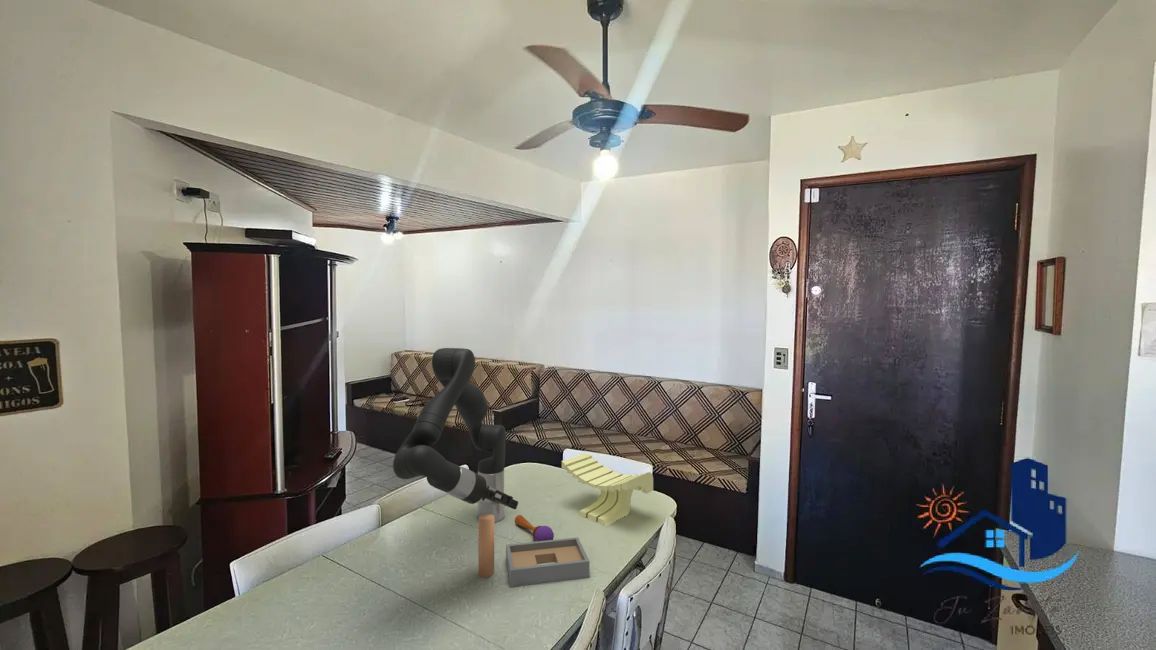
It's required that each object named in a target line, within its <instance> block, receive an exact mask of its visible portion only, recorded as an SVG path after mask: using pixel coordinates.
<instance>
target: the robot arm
mask: <svg viewBox="0 0 1156 650" xmlns="http://www.w3.org/2000/svg"><path fill="white" fill-rule="evenodd" d="M431 366H432V370H433V373H434V375H435V378H436V379H437V380H438V381H439V383H440V384H441V385H442V387H443V388H442V389H441V390H440V391H439V392H438V393H436V394H435V395H434V396H433V397H431V398H430V399H429V400H428V401H427V402H426V403H425V405H424V406H423V407H422V409H421V410H420V411H419V412H420V413H419V415H418V416H417V418H416V421H415V423H414V425H413V429H412V430H411V432H410V433H409V434H408V435H407V437H405V438H404V439H405V440H404V441H403V442H402V443H401V445H400V446H399V447H398V450H397V451H396V453H395V456H394V457H393V458H394V459H393V462H392V469H393V472H394V475H395V476H396V477H398V478H399V479H402V480H409V479H414V478H417V477H420V476H422V477H426V481H427V483H428V484H429V485H430V486H431V487H432V488H435V489H437V490H439V491H442V492H444V493H446V494H448V495H449V496H452V497H453V498H455V499H459V500H461V501H462V502H465V503H468V504H470V505H474V504H477V520H478V521H479V516H481V515H484V514H492V515H494V523H497V522H500V521H502V520H504V517H505V507H507V508H510V509H513V510H517V507H518V505H519V501H518V500H516V499H514V497H513V496H512V495H509V494H507V493H505V462H506V442H507V432H506V428H505V426H504V425H502V424H489V423H487V424H486V423H483V421H484V419H486V416H487V414H488V412H489V411H488V410H489V406H488V402H487V399H486V397H485V395H484V393H483V392H482V390H481V389H480V388H479V387H478V386H476V385H475V384H474V383H472V382H470V379H471V378H472V376H473V374H474V371H475V366H476V357H475V355H474V352H473V351H472V350H471V349H468V348H463V347H462V348H460V347H456V348H455V347H442V348H438V349H437V350H435V351H434V352H433V354H432V358H431ZM454 406H455V408H456V410H457V412H458V414H459V415H460V417H461V418H462V420H463V423H465V426H466V428H467V431H468V433H469V437H470V438H471V442H472V444H473V446H474V448H475V449H476V450H478V451H482V452H493V453H492V456H490V457H486V458H483V459H481V460H479V461H478V463H477V472H475V471H473V470H472V469H468V468H466V467H464V466H460V465H458V464H456V463H453V462H451V461H449V460H447V459H446V458H445V457H444V456H443V455H442V454H441V453H440V452H438V451H437V450H436V449H435V448H433V447H432V446H433V445H435V444H436V443H438V442H439V440H440V438H441V435H442V433H443V430H444V429H445V425H446V423H447V420H448V418H449V416H450V414H451V411H452V410H453V408H454Z"/></svg>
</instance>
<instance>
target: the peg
mask: <svg viewBox="0 0 1156 650" xmlns="http://www.w3.org/2000/svg"><path fill="white" fill-rule="evenodd" d="M477 529H478V535H477V536H478V541H477V542H478V545H477V546H478V547H477V548H478V550H477V551H478V556H477V557H478V558H477V559H478V561H477V563H478V566H477V568H478V569H477V570H478V576H479V577H480V578H490V577H492V576H493V575H494V574H495V522H494V515H492V514H484V515H481V516H479V520H478V528H477Z"/></svg>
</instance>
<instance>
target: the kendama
mask: <svg viewBox="0 0 1156 650" xmlns="http://www.w3.org/2000/svg"><path fill="white" fill-rule="evenodd" d="M515 516H516V517H515V518H514V524H515V525H517V526H520V527H522V528H524V529H527V530H530V531H532V535H533V538H534V539H535V542H537V541H547V540H554V539H555V536H554V535H555V534H554V531H553V529H552V528H551V527H550V526H548V525H537V526H535V527H534V525H532V524H531V523H530V522H529V521H528V520H527V519H526V517H524V516H523V515H522V514H518V515H515Z"/></svg>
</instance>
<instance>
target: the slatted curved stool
mask: <svg viewBox="0 0 1156 650" xmlns="http://www.w3.org/2000/svg"><path fill="white" fill-rule="evenodd" d="M561 469H563V470H566V473H567V474H570V475H571V474H572V478H574V479H577V482H578V483H581V484H584V485H587V486H590V487H592V488H595V489H598V490H600V495H599V497H598V499H597V500H595V501H594V502H593V503H590V505H588V506H586V507H585V508H582V509H581V510H579V512H578V514H577V515H578V516H580V517H583V518H584V517H585V518H584V519H587V520H589V519H590V520H589V521H592V520H593V521H592V522H594V521H595V523H598V524H599V523H600V524H599V525H601V524H602V525H601V526H605V527H607V525H608V526H610V525H612V524H613V523H615V522H617V521H619V520H621V519H623V518H624V516H625V517H626V516H628V515H629V514H630V511H631V501H632V500H631V499H632V496H633V492H634V490H636V491H641V492H642V493H644V494H645V495H647V494H649V493H652V492H653V491H654V475H653V473H652V472H650V471H647V472H645V473H643V472H642V473H640V474H634V475H633V474H625V473H624V474H623V473H621V472H618V471H614V470H612V469H610V468H609V467H606V466H605V465H604V464H602V463H600V462H599V461H598V460H597V459H595V458H593V456H592V455H591V454H589V453H585V452H583V453H581V454H579V455H575V456H572V457H570V458H565V459H564V460H561ZM586 517H587V518H586ZM622 517H623V518H622ZM620 518H621V519H620ZM618 519H619V520H618ZM616 520H617V521H616ZM596 521H597V522H596ZM611 523H612V524H611ZM609 524H610V525H609Z"/></svg>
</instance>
